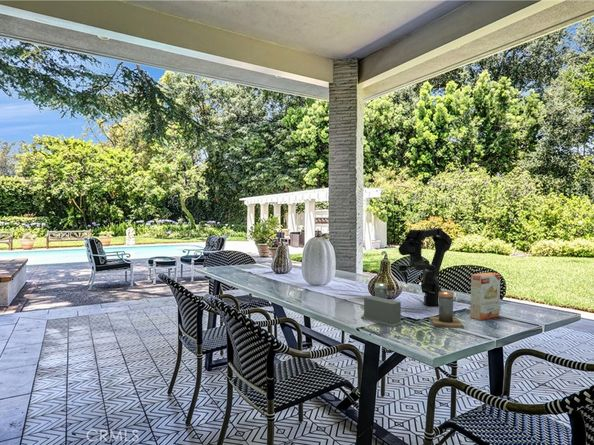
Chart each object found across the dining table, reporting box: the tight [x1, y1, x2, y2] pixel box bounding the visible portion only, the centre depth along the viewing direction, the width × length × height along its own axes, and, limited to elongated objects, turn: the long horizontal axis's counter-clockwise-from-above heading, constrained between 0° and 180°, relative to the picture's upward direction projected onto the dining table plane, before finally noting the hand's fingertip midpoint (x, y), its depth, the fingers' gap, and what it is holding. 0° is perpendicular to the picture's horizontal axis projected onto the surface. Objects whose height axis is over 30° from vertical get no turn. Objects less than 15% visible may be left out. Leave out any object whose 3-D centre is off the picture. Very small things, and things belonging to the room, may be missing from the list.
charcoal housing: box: [360, 295, 405, 328], centre depth 172 cm, size 8×18×10 cm, turn 41°
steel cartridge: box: [374, 282, 388, 299], centre depth 193 cm, size 6×6×13 cm
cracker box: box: [469, 272, 501, 321], centre depth 177 cm, size 14×6×21 cm, turn 117°
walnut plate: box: [428, 316, 465, 329], centre depth 168 cm, size 12×12×1 cm
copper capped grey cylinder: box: [438, 290, 454, 323], centre depth 168 cm, size 6×6×13 cm
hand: (415, 284), depth 192 cm, fingers open, 9 cm apart
